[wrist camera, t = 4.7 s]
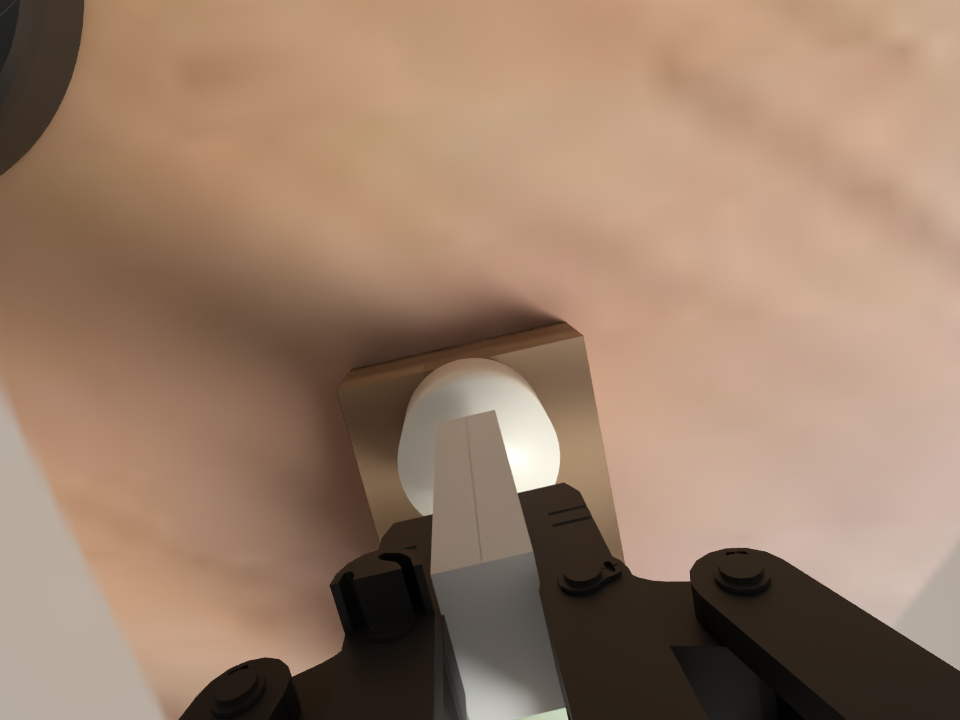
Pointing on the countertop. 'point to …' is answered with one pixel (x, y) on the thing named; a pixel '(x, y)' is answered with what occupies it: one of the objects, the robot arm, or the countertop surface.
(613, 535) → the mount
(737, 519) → the countertop surface
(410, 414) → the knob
